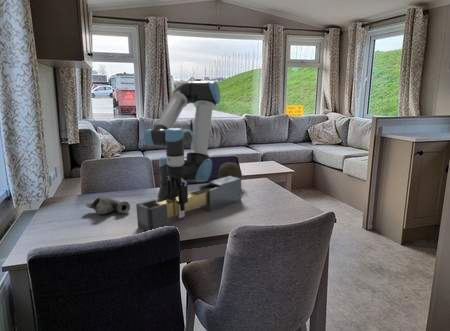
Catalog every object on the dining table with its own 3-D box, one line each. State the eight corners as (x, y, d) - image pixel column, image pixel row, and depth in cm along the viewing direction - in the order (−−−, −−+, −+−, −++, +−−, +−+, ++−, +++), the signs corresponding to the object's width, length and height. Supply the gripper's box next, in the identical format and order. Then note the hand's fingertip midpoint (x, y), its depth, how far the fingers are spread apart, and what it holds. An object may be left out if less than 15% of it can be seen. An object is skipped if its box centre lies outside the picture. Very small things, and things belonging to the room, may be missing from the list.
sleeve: (199, 207, 159) (199, 184, 156) (230, 196, 173) (230, 175, 170) (210, 211, 153) (210, 187, 150) (241, 200, 167) (241, 178, 164)
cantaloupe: (247, 187, 188) (247, 162, 184) (230, 193, 178) (230, 167, 175) (229, 182, 198) (229, 158, 194) (212, 188, 188) (212, 162, 184)
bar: (155, 216, 140) (154, 202, 139) (210, 198, 162) (210, 185, 160) (163, 220, 136) (163, 206, 134) (219, 201, 157) (219, 188, 156)
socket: (138, 227, 137) (136, 204, 134) (155, 221, 142) (153, 198, 140) (150, 234, 130) (148, 210, 128) (167, 228, 136) (166, 204, 133)
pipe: (110, 224, 159) (82, 216, 149) (112, 208, 164) (84, 199, 153) (131, 214, 150) (102, 205, 140) (132, 197, 155) (104, 187, 145)
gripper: (156, 162, 143) (159, 212, 148) (181, 169, 130) (183, 223, 136) (170, 160, 148) (173, 208, 153) (195, 166, 135) (197, 218, 141)
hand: (178, 215), depth 145 cm, fingers closed on bar, 4 cm apart
